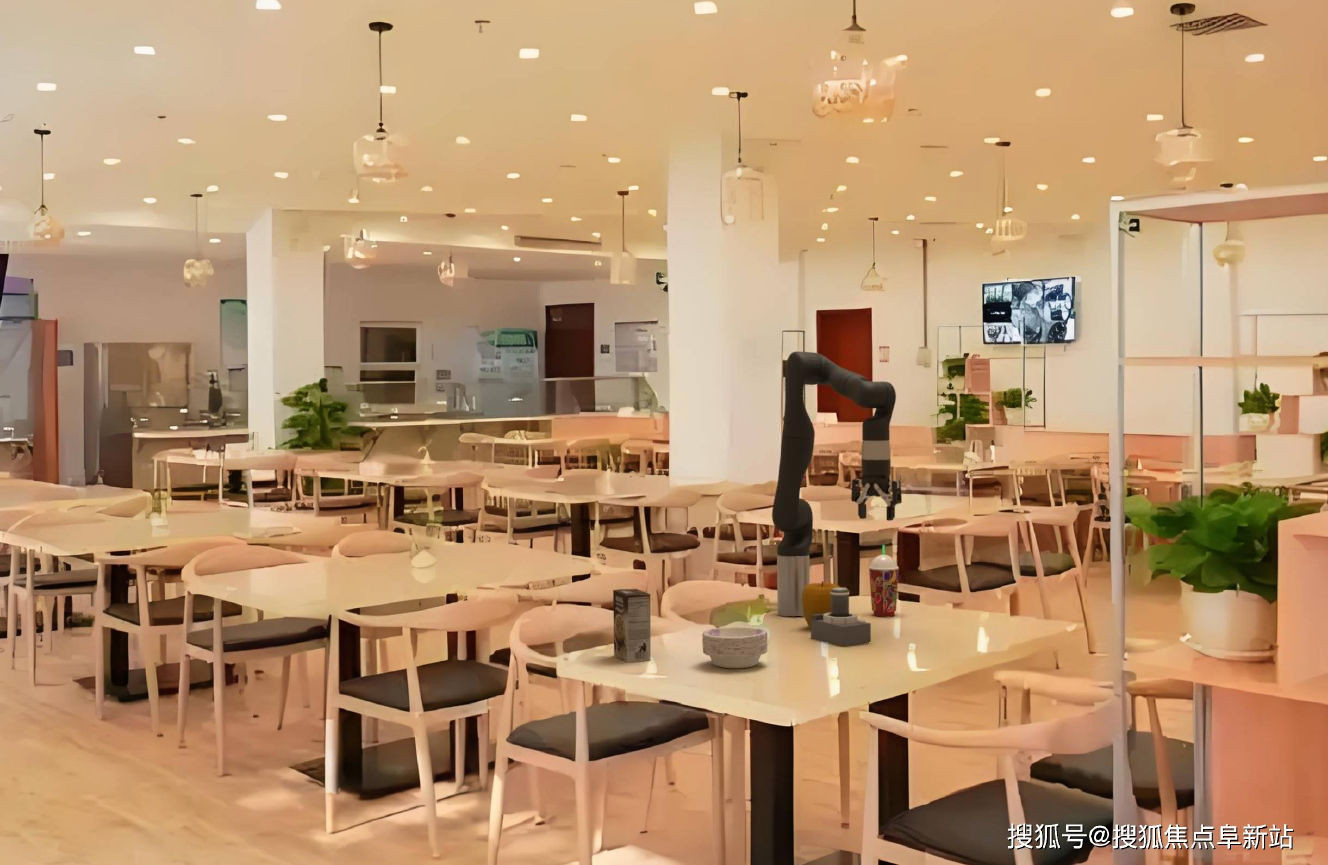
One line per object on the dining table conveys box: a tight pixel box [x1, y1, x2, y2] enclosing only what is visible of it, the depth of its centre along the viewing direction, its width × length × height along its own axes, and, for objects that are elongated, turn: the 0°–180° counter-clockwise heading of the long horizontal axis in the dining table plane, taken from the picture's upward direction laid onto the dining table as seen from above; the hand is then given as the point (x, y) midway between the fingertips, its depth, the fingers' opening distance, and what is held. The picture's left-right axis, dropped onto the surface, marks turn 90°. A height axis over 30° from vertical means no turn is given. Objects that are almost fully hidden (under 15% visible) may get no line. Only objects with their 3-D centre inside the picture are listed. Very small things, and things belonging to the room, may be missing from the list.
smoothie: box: [868, 544, 900, 617], centre depth 361 cm, size 8×8×20 cm
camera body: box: [810, 612, 872, 648], centre depth 324 cm, size 13×9×7 cm
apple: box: [802, 580, 840, 629], centre depth 341 cm, size 11×11×13 cm
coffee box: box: [612, 588, 652, 663], centre depth 305 cm, size 9×6×16 cm
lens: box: [831, 586, 850, 617], centre depth 324 cm, size 5×5×8 cm
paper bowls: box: [702, 626, 768, 669], centre depth 296 cm, size 15×15×8 cm
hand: (876, 519), depth 332 cm, fingers open, 8 cm apart
